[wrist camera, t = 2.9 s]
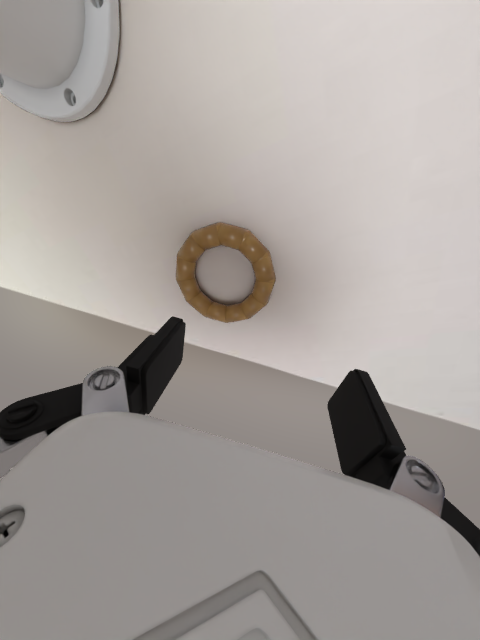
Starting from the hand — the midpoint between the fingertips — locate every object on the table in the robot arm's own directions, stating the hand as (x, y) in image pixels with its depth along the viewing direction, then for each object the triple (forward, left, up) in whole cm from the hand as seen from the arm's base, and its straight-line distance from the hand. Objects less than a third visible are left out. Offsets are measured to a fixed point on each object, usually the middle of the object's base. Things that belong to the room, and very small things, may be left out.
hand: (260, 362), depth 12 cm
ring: (-5, 0, -10) cm, 11 cm away
